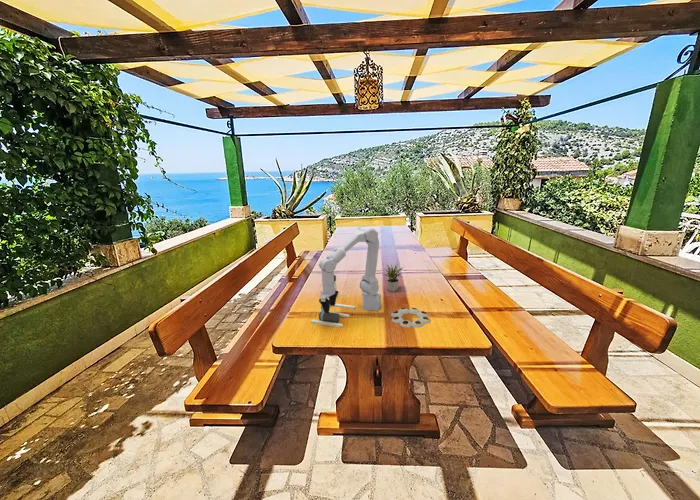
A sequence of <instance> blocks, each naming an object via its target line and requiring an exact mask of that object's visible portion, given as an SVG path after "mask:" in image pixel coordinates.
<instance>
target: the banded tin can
mask: <svg viewBox="0 0 700 500" xmlns="http://www.w3.org/2000/svg"><path fill="white" fill-rule="evenodd" d="M320 311H321V310H320ZM331 312H332V311H329V313H324V311H321V312H320V313H319V312H318V320H319V321H325V322H332V323H339V321H340V316H339V314H338V313H339V312H334V313H331Z"/></svg>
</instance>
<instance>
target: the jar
mask: <svg viewBox="0 0 700 500" xmlns="http://www.w3.org/2000/svg"><path fill="white" fill-rule="evenodd" d="M334 286H336V290H335V291H338V290H337V276H336V274H334ZM327 299H329V297H328V298H327Z"/></svg>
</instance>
